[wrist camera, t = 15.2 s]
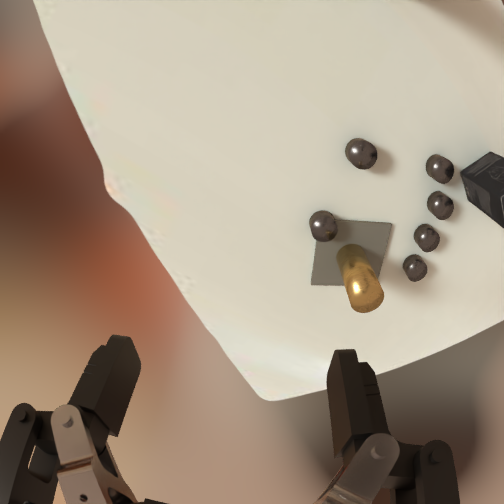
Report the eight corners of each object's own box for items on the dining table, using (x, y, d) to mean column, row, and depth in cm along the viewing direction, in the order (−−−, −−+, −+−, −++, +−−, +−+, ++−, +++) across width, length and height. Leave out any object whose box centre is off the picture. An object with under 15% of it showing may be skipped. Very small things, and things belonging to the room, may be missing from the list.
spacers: (315, 134, 34) (319, 136, 32) (455, 155, 33) (464, 159, 31) (304, 271, 45) (305, 280, 42) (424, 272, 43) (430, 281, 41)
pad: (318, 218, 40) (319, 220, 39) (390, 222, 39) (391, 224, 39) (310, 282, 46) (311, 285, 45) (375, 283, 45) (376, 285, 45)
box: (467, 201, 36) (505, 231, 27) (458, 171, 34) (500, 197, 25) (498, 180, 34) (537, 205, 25) (490, 150, 31) (533, 171, 22)
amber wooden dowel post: (338, 243, 41) (354, 285, 32) (366, 244, 41) (388, 285, 32) (334, 268, 43) (347, 313, 35) (361, 268, 43) (379, 312, 34)
